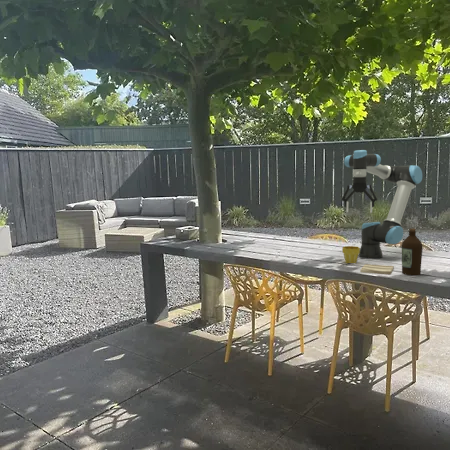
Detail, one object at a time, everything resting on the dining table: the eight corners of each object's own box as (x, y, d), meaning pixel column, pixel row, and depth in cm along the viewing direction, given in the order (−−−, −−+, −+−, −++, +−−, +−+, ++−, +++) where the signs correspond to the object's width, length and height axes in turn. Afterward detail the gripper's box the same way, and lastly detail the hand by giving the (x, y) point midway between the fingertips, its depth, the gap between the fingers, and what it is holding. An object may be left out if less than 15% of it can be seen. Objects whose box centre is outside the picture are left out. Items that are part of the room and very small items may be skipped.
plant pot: (349, 265, 262) (349, 249, 260) (338, 262, 271) (339, 246, 270) (363, 263, 266) (363, 247, 264) (352, 260, 275) (352, 245, 274)
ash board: (365, 266, 257) (365, 264, 256) (393, 268, 249) (393, 266, 249) (360, 272, 243) (360, 269, 242) (390, 274, 235) (390, 271, 235)
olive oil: (410, 270, 243) (411, 227, 240) (426, 274, 233) (427, 229, 230) (396, 273, 239) (397, 228, 236) (411, 276, 229) (413, 230, 226)
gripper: (337, 177, 255) (336, 212, 257) (381, 176, 245) (380, 213, 247) (339, 177, 262) (338, 211, 264) (382, 176, 251) (381, 212, 254)
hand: (359, 212), depth 255 cm, fingers open, 13 cm apart
